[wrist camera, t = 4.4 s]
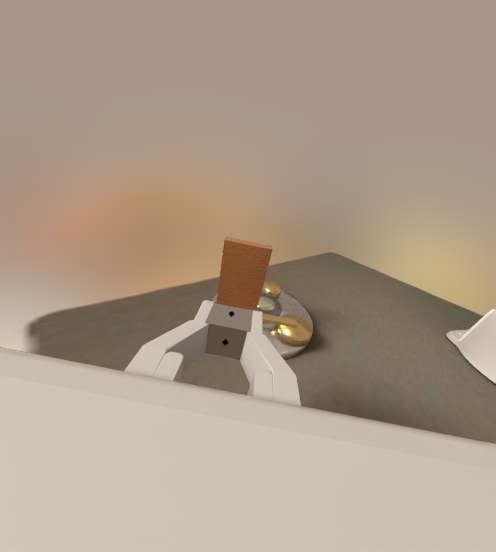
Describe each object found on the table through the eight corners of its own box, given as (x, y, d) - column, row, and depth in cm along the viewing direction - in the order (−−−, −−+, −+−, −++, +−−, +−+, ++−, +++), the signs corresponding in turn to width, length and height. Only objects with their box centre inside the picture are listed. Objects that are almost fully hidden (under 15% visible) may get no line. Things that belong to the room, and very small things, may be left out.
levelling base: (274, 286, 42) (278, 274, 41) (331, 344, 30) (340, 330, 28) (199, 294, 35) (200, 280, 33) (232, 377, 22) (236, 360, 20)
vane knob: (305, 325, 30) (335, 254, 24) (311, 350, 25) (351, 271, 20) (218, 308, 29) (228, 233, 24) (210, 330, 25) (221, 245, 19)
